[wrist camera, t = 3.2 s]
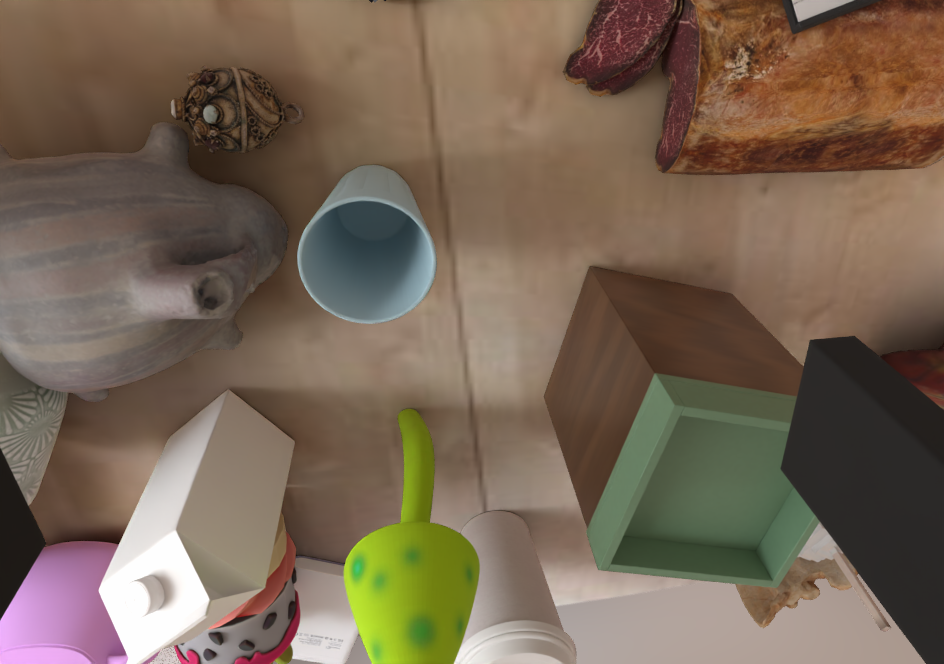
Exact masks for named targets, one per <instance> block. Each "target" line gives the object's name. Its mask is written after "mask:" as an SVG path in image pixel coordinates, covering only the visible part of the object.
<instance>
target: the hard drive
mask: <svg viewBox="0 0 944 664" xmlns="http://www.w3.org/2000/svg"><path fill="white" fill-rule="evenodd" d="M344 565H345V564H341V563H336V562H331V561H326V560H321V559H316V558H311V557H306V556H296V559H295V565H294V568H295V569H296V576H297V581H296V583H295V584H294V588H295V590H296V591H297V592H298V596H299V604H300V624H299V627H298V630H297V633H296V635H295V637H294V639H293V640H292V642H291V646H292V649H293V656H292V658H293V659H300V660H305V661H311V662H318V663H324V664H346V662H347V659H348V657H349V655H350V653H351V650H352V648H353V646H354V644H355V641H356V639H357V637H358V635H359V631H358V628H357V625H356V622H355V619H354V616H353V613H352V610H351V607H350V603H349V600H348V596H347V592H346V588H345V583H344Z"/></svg>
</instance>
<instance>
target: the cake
mask: <svg viewBox="0 0 944 664" xmlns="http://www.w3.org/2000/svg"><path fill="white" fill-rule="evenodd" d="M295 554H296V547H295V545H294V543H293V541H292V539H291V537H290V536H289V534H288V533H287V532H286V530H285V524H284V517H283V515H282V513H280V517H279V522H278V527H277V532H276V537H275V542H274V547H273V551H272V556H271V561H270V566H269V571H268V576H267V581H266V585H265V588H264V589H263V590H262V591H260V592H259V593H258V594H256V595H255V596H253V597H252V598H251V599H249V600H248V601H246V602H245V603H243V604H242V605H241V606H239V607H238V608H236V609H235V610H233V611H232V612H231V613H229V614H228V615H226V616H225V617H223V618H222V619H221V620H219V621H218V622H216V623H215V624H214V625H212V626H211V627H209V628H208V629H206V630H205V631H204V632H202V633H201V634H199V635H198V636H196V637H195V638H194V639H192V640H190V641H188V642H185V643H181V644H178V645H175V646H174V647H175V650H176V653H177V656H178V658H179V660H180V662H181V663H182V664H272V663H273V661H275V662H277V663H278V664H287V663H289V662H290V661H291V659H292V656H293V649H292V646H291V642H292V640H293V639H294V637H295V635H296V633H297V630H298V627H299V624H300V604H299V596H298V592H297V591H296V590H295V588H294V584H295V583H296V581H297V576H296V569H295V568H294V565H295Z"/></svg>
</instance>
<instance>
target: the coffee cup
mask: <svg viewBox="0 0 944 664" xmlns="http://www.w3.org/2000/svg"><path fill="white" fill-rule="evenodd" d="M461 535H463V536H464V537H465V538H466V539H467V540H468V541H469V542H470V543H471V544H472V545H473V547H474V549H475V550H476V552H477V555H478V558H479V563H480V574H479V581H478V586H477V591H476V595H475V600H474V604H473V608H472V612H471V615H470V619H469V622H468V626H467V629H466V632H465V635H464V638H463V641H462V644H461V647H460V649H459V652H458V655H457V657H456V659H455V662H454V664H576V648H575V644H574V642H573V641H572V639H571V638H570V636H569V635H568V634H567V633H565V632H564V630H563V628H562V625H561V622H560V619H559V616H558V613H557V610H556V607H555V605H554V602H553V599H552V596H551V593H550V590H549V587H548V584H547V581H546V579H545V576H544V573H543V570H542V567H541V564H540V561H539V558H538V555H537V552H536V549H535V546H534V544H533V541H532V538H531V535H530V532H529V529H528V526H527V524H526V523H525V521H524V520H523V519H522V518H521V517H519V516H518V515H516V514H513V513H511V512H507V511H490V512H485V513H482V514H480V515H478V516H476V517H474V518H472V519H471V520H470V521H469V522H468V523H467V524H466V525H465V526H464V528H463V529H462V531H461Z"/></svg>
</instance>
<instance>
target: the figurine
mask: <svg viewBox="0 0 944 664" xmlns="http://www.w3.org/2000/svg"><path fill="white" fill-rule="evenodd" d="M842 555H843V556H844V558H845V559H846V561H847V562H848V564H849V565H850V567H851V568H852V570H853V571H854V573H855V574H856V576H857V575H858V572H857V571H856V569H855V568H854V567H853V565H852V564H851V563H850V561H849V560H848V559H847V557H846V556H845V555H844V553H843V554H842ZM819 578H820V579H821V578H822V579H824V578H826V579H827V580H828V582H829V583H830V585H831V587H834V588H837V589H839V590H847V589H849V588H851V587H852V585H851V584H850V582H849V581H848V579H847V578H846V576H845V575H844V573H843V571H842V570H841V568H840V567H839V565H838V564H837V562H836V561H835V559H833V560H830V559H827V558H826V559H824V560H821V561H819V562H816V561H813V560H810V561H809V560H807V559H804V558H802V557H797V558H796V560H795V561H794V563H793V564H792V566H791V567H790V569H789V571H788V572H787V574H786V575H785V577H784V578H783V580H782V581H781V583H780V584H779V586H778V587H777V588H773V587H762V586H752V585H742V584H736V587H737V590H738V592H739V594H740V596H741V599H742V601H743V603H744V605H745V607H746V608H747V610H748V612H749V614H750V615H751V617H752V618H753V619H754V621H755V622H756V623H757V624H758V625H759V626H760V627H762V628H764V627H766V626H768V625H769V623H770V622H771V621H772V620H773V618H774V617H775V614H776V613H777V612H778V611H779V610H781V609H782V608H783V607H784V606H787V607H789V608H796V607H797V603H798V602H797V601H798V600H799V599H800V598H803V599H806V600H813V599H815V598H817V597H818V596H819V595H820V590H819V588H818V587H817V586H816V585H815V584H814V582H815V580H816V579H819Z"/></svg>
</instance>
